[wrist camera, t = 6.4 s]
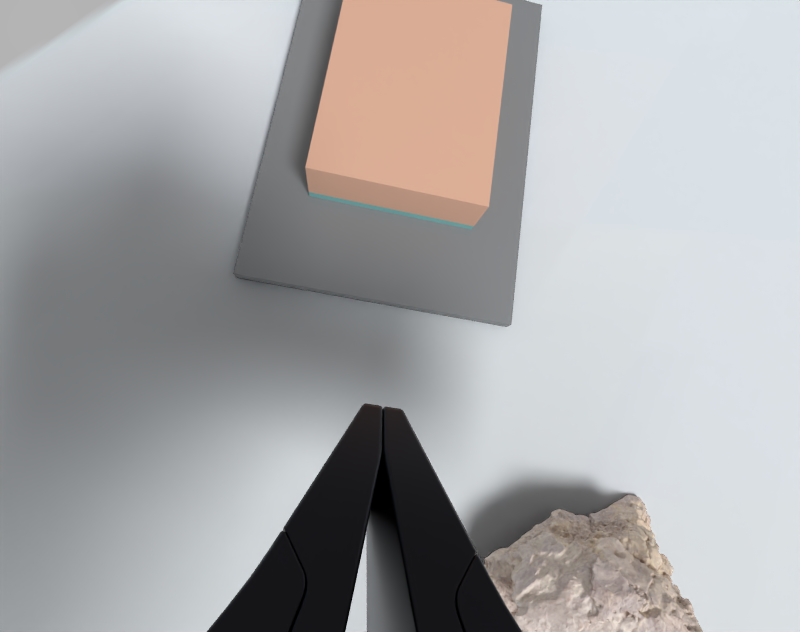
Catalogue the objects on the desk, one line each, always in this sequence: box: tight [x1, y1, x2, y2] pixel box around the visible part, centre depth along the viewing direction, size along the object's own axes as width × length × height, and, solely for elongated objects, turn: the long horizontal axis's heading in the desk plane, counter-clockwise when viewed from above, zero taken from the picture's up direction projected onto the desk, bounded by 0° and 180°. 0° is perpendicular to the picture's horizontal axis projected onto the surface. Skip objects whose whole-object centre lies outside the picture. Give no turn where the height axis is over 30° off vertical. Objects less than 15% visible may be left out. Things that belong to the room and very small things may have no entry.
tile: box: [305, 0, 512, 230], centre depth 20 cm, size 2×8×11 cm
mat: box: [233, 0, 542, 327], centre depth 22 cm, size 19×13×1 cm
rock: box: [484, 495, 703, 632], centre depth 16 cm, size 11×8×6 cm
